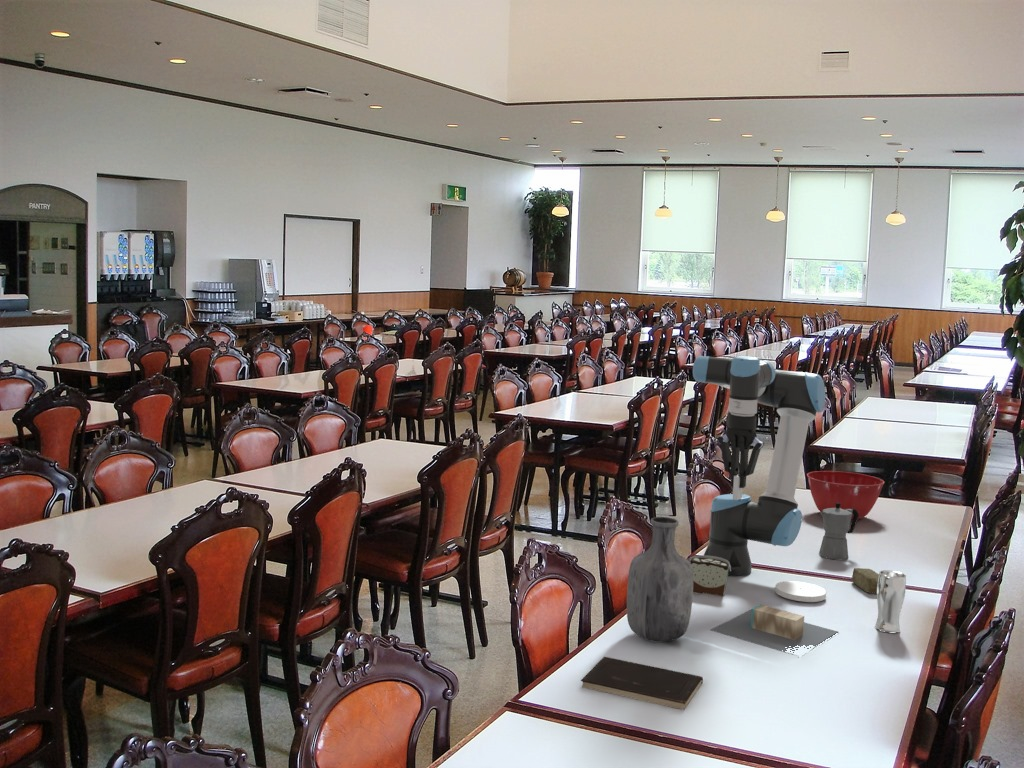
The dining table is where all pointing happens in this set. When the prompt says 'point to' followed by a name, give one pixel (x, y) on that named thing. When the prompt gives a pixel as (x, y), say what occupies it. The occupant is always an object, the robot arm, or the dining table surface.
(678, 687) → the hardcover book
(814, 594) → the plastic lid
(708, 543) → the robot arm
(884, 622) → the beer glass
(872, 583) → the stone block
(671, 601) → the vase
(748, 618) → the mat
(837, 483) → the mixing bowl
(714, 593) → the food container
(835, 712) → the dining table surface
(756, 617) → the maple block
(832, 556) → the coffeepot
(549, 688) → the dining table surface
